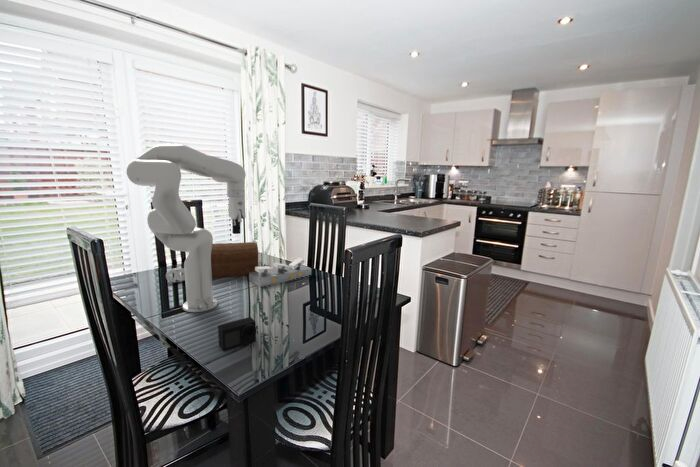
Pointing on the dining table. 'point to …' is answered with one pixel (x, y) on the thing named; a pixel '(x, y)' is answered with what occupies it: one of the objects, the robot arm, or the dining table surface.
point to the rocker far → (296, 263)
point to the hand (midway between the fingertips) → (236, 233)
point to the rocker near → (263, 269)
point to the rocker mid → (281, 266)
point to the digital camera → (236, 333)
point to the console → (278, 275)
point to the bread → (233, 259)
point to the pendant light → (175, 274)
